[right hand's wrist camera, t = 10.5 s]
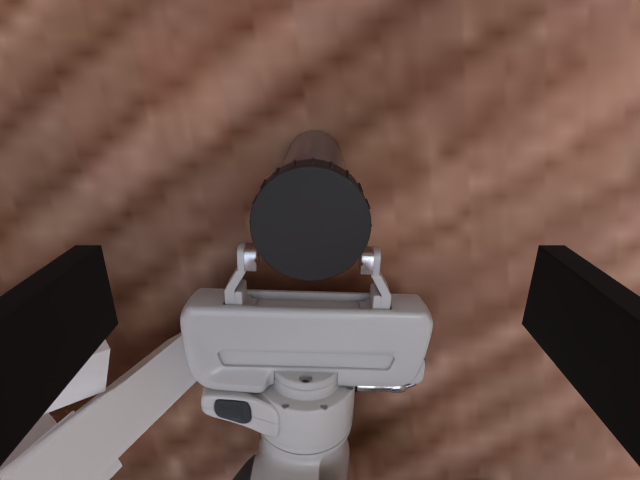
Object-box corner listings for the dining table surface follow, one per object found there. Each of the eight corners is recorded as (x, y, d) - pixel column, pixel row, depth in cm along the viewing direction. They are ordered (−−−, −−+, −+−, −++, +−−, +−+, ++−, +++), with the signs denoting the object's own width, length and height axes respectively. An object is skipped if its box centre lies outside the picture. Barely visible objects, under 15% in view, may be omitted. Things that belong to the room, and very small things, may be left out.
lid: (248, 254, 21) (241, 271, 19) (263, 147, 19) (257, 154, 17) (353, 273, 22) (356, 291, 20) (380, 170, 20) (386, 179, 18)
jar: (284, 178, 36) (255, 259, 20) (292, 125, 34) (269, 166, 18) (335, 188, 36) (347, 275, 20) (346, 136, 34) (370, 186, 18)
